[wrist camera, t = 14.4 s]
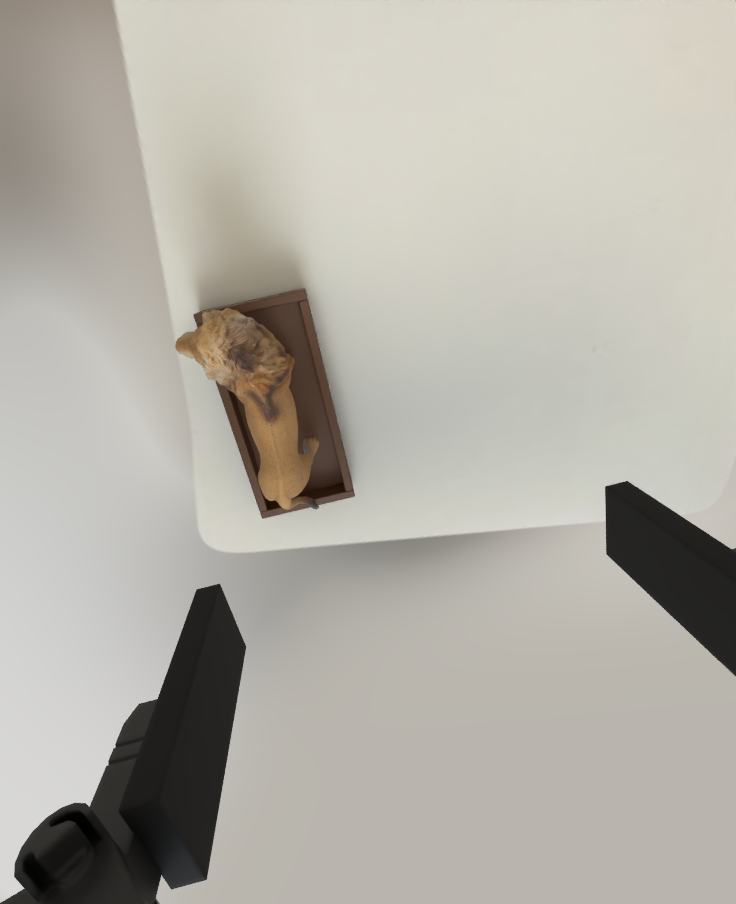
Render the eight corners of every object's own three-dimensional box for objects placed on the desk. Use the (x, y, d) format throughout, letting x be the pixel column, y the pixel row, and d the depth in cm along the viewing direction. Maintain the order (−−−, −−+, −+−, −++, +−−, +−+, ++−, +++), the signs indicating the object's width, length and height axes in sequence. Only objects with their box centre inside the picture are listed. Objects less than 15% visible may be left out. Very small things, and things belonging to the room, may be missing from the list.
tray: (352, 485, 37) (354, 496, 35) (264, 506, 37) (262, 519, 35) (305, 288, 31) (305, 289, 29) (199, 311, 31) (192, 314, 29)
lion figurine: (200, 329, 31) (148, 327, 22) (274, 300, 31) (249, 287, 22) (286, 517, 35) (269, 578, 26) (352, 492, 35) (357, 545, 26)
